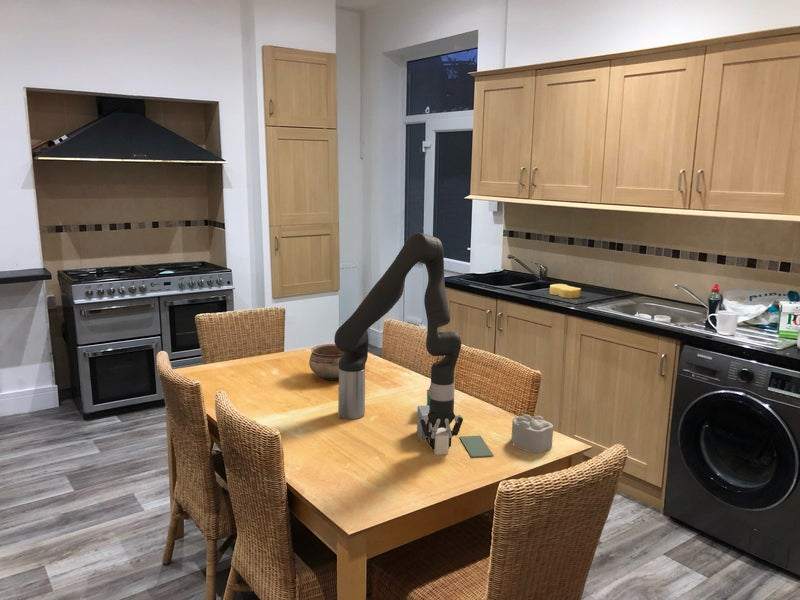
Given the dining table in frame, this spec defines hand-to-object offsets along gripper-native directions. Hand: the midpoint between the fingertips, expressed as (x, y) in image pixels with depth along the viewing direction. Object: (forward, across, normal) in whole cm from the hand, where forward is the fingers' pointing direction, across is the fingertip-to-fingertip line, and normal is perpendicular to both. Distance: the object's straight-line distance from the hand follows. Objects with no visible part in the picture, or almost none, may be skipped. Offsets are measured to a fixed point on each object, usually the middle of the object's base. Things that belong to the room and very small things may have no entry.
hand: (440, 447), depth 198 cm
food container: (+1, +6, +32) cm, 33 cm away
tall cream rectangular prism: (+1, 0, +3) cm, 3 cm away
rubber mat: (+1, +12, +2) cm, 12 cm away
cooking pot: (+1, -30, +74) cm, 80 cm away
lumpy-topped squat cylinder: (+1, +30, +2) cm, 30 cm away
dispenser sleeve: (+1, 0, +12) cm, 12 cm away
